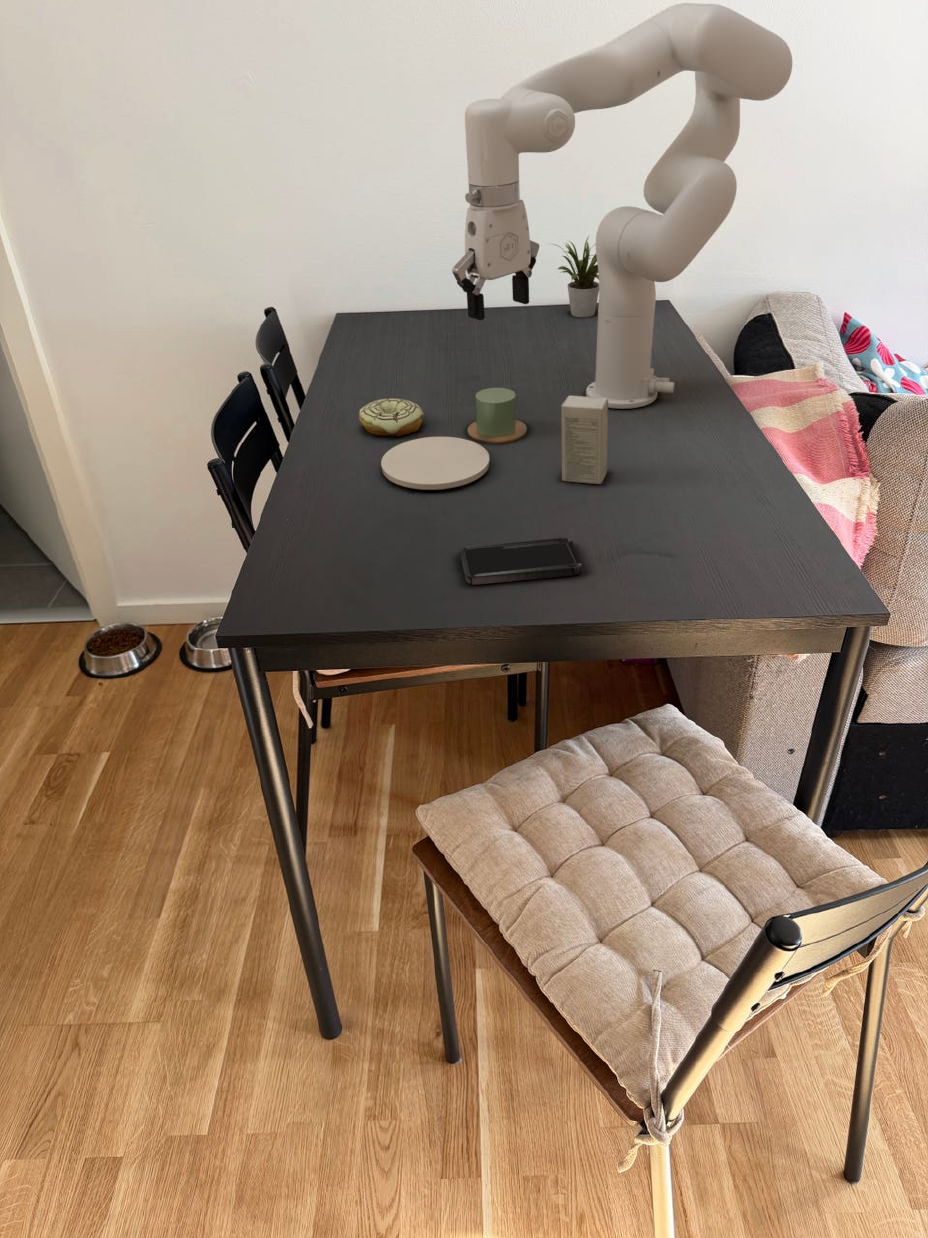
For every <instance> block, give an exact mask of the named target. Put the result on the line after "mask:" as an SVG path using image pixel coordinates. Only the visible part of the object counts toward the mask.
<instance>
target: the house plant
mask: <svg viewBox="0 0 928 1238" xmlns="http://www.w3.org/2000/svg"><path fill="white" fill-rule="evenodd" d="M589 237H590V235H588V236H587V237H586V240H585V243H584V247H583V251H582V259H579V256H578V252H577V248H576V246H575V244H574V243H573V242H572V241H570V240H568V239H567V242H569V243H570V244H571V245H572V247H573V248H572V247H571V245H570V244H568V243H567V242H565V247H566V248H567V249H568V250H567V251H566V250H563V248H562V247H561V246H559V245H558V244H554V243H552V246H556V247H559V248H560V249H562V250H563V253H565V254H566V255H567V256H566V255H562V257H563V258H564V259H565V260H566V261H567V262H568V264H569V265H570V268H571V269H570V268H569V267H567V266H564V265H561V266H559V267H558V268H557V270H562V271H560V272H559V273H563V274H565V273H567V274H569V276H570V277H571V282H569V283H567V285H566V286H567V292H568V300H569V307H570V314H571V316H573V317H577V318H590V317H592V316H595V314H596V308H597V303H598V300H599V272H598V264H596V263H597V257H596V253H594V254H590V253H591V249H592V248H593V247H594V246H595V244H593V245H592V246H591V247H590V244H589V242H588V240H589ZM547 244H548V245H549V243H547ZM568 254H569V255H570V257H571V258H572V259H573V261H572V260H571V258H570V257H569V256H568ZM591 256H593V257H592V258H591ZM589 261H590V263H589ZM573 262H574V263H573ZM595 279H597V280H598V282H597V281H595Z"/></svg>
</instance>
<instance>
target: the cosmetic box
mask: <svg viewBox="0 0 928 1238" xmlns="http://www.w3.org/2000/svg"><path fill="white" fill-rule="evenodd" d="M560 407H561V408H560V409H561V412H560V413H561V481H563V482H571V483H581V484H582V483H584V484H593V485H602V484H603V481H604V480H605V478H606V475H607V473H608V437H609V436H608V433H609V431H608V430H609V408H608V398H601V397H587V396H586V395H585V396H583V395H569V394H568V396H567V397H566V398H565V400H564V401H563V402H562V404H561V406H560Z"/></svg>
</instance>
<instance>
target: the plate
mask: <svg viewBox="0 0 928 1238" xmlns="http://www.w3.org/2000/svg"><path fill="white" fill-rule="evenodd" d="M490 462H491V461H490V454H489V452H488V450H487V449H486V448H485V447H484V446H482V445H481V444H479V443H477V442H475V441H473V440H469V439H466V438H461V437H455V436H428V437H427V436H426V437H421V438H416V439H411V440H407V441H404V442H402V443H399V444H397V445H395V446H392V448H389V450H387V451H386V452H385V453H384V455H383V456H382V458H381V461H380V465H381V472H382V475H383V476H384V477H385V478H386V479H387V480H388V481H390V482H391V483H394V484H396V485H397V486H401V487H405V488H409V489H415V490H423V491H424V490H425V491H426V490H427V491H428V490H429V491H431V490H433V491H435V490H446V489H452V488H453V489H454V488H457V487H462V486H465V485H467V484H470V483H472V482H474V481H477V480H479V478H482V476H484V475H485V474H486V473H487V472H488V470H489V468H490V465H491V463H490Z"/></svg>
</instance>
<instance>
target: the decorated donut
mask: <svg viewBox="0 0 928 1238" xmlns="http://www.w3.org/2000/svg"><path fill="white" fill-rule="evenodd" d="M424 417H425V416H424V411H423V410H422V408H421V407H420V406H419V405H418V404H417V403H415V402H413V401H411V400H408V399H404V398H395V397H394V398H389V397H388V398H381V399H376V400H373V401H371V402H369V403H367V404H366V405H364V406H363V407H362V408H360V409H359V421H360V423H361V424H362V426H363V428H364V429H365V430H366V431H367V432H369V433H370V434H372V435H376V436H383V437H388V436H389V437H395V436H396V437H401V436H404V435H409V434H411V433H414V432H417V431H419V429H420V427H421V426H422V424H423V418H424Z"/></svg>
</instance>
